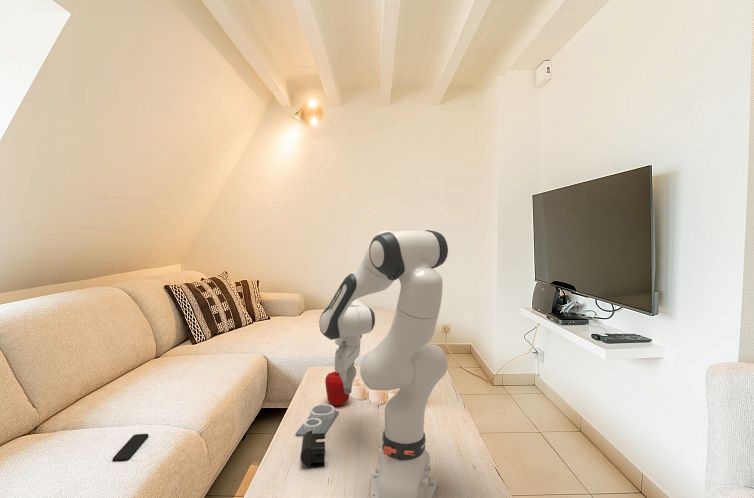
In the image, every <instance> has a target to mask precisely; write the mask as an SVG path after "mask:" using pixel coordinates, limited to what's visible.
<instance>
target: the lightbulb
mask: <svg viewBox="0 0 754 498" xmlns="http://www.w3.org/2000/svg"><path fill="white" fill-rule="evenodd" d="M339 375H340V377H341V379H342V375H341V373H339ZM347 375H348V379H347V381H343V380H342V381H343V387H344V393H346V394H347V395H349V396H350V394H351V393H352V388H353V383H354V380H355V378H356V375H357V368H356V367H355V365H354V366H353V365H351V366H350V367H349V368H348V371H347Z"/></svg>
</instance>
